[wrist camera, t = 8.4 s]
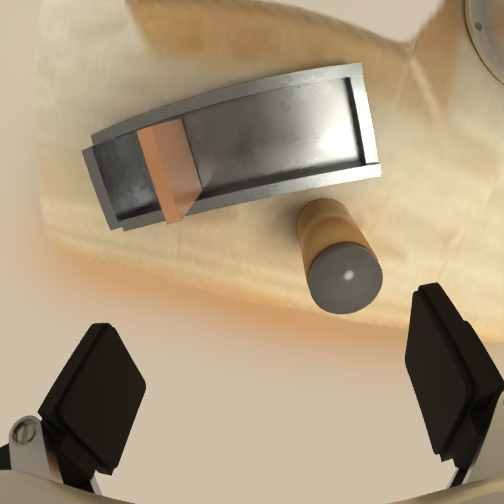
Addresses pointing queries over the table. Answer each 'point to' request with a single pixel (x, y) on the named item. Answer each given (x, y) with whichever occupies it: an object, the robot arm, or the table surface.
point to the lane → (244, 144)
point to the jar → (337, 258)
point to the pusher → (171, 167)
